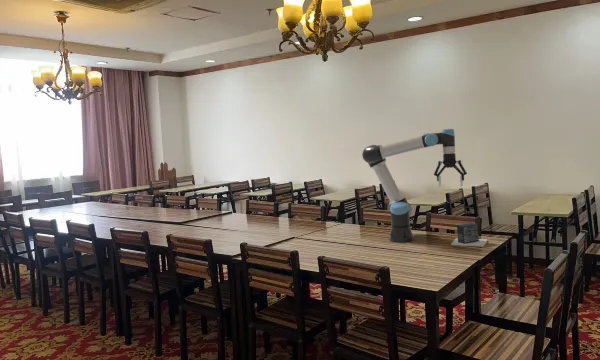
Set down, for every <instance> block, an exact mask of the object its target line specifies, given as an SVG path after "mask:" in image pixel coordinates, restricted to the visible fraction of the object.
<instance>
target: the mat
mask: <svg viewBox="0 0 600 360" xmlns="http://www.w3.org/2000/svg"><path fill="white" fill-rule="evenodd" d="M487 242H488V239H484V238H479V241H477V242H471V243H465V244H463V243H460V242H458V237H456V238H455V239H454V240H453V241H451V244H450V245H451V246H460V247H463V246H464V247H481V248H482V247H485V245H486V244H487Z"/></svg>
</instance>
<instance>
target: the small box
mask: <svg viewBox="0 0 600 360" xmlns="http://www.w3.org/2000/svg"><path fill="white" fill-rule="evenodd" d="M478 227H479V226H478V223H473V222H469V223H462V224H457V225H456V230H457V234H456V235H457V238H458V242H460V243H463V244H465V243H471V242H477V241H479V239H480V238H479V228H478Z"/></svg>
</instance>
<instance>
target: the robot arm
mask: <svg viewBox="0 0 600 360" xmlns="http://www.w3.org/2000/svg"><path fill="white" fill-rule="evenodd" d="M455 135H456V134H455V129H453V128H445V129H441V132H432V133H423V134H422V135H421V136H417V137H412V138H409V139H404V140H401V141H397V142H393V143H388V144H386V145H381V144H379V145H376V144H371V145H368V146H366V147H365V148H364V149H363V150H362V154H361V157H362V159H363V161H364V162H366V163H367V164H368V166H369V167H370V169H372V170H374V172H375V174H376V176H377V178H378V181H379V182H380V185H381V186H382V188H383V190H384V192H385V194H386V196H387V198H388V201H389V203H388V205H389V207H390V209H389V210H390V222H391V223H390V224H391V229H390V233H389V241H390V242H394V243H406V242H412V241H413V240H414V238H415V237H414V234H413V232H412V228H411V224H410V223H411V221H410V216H411V214H412V210H413V209H412V206H411V204H410V202H408V200H407V198H406V196H404V195H402V194H401V191H400V190H399V187H398V186H397V183H396V182H395V179H394V178H393V176H392V174H391V172H390V170H389V168H388V165H387V164H386V162H387V159H386V158H388V157H392V156H396V155H400V154H404V153H408V152H412V151H417V150H420V149H425V148H430V147H434V146H438V145H442V153H443V154H442V157H443V158H442V159H443V160H439V161H437V166H436V168H435V170H434V173H433V175H434V176H436V181H437V182H438V187H442V178H441V177H442V176H441V174H442V173H443V172H444V171H445V169H446V168H447V169H448V168H454V169H455V170H456V171H457V172H458V173H459V174H460V175H459V178H460V179H459V180H460V181H459V182H460V187H463V186H464V182H463V181H465V175H467V174H468V173H467V171H466V169H465V167H464V166H463V163H462V160H461V159H459V160H457V158H456V139H455V138H456V137H455ZM457 164H458V166H459V167H460V168H459V167H458V166H457ZM442 165H443V166H442ZM441 166H442V168H441ZM440 168H441V169H440Z"/></svg>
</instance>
